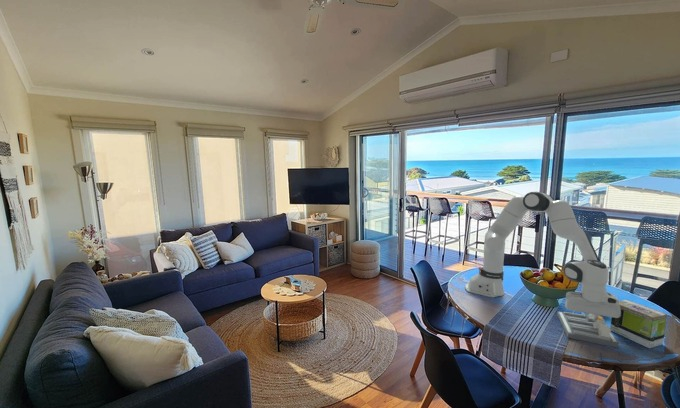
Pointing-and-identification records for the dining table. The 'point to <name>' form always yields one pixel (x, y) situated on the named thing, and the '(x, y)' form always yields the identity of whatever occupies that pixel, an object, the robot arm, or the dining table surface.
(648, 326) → the tea box
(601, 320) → the breaker
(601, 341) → the panel
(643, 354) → the dining table surface
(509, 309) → the dining table surface
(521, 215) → the robot arm
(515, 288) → the dining table surface
